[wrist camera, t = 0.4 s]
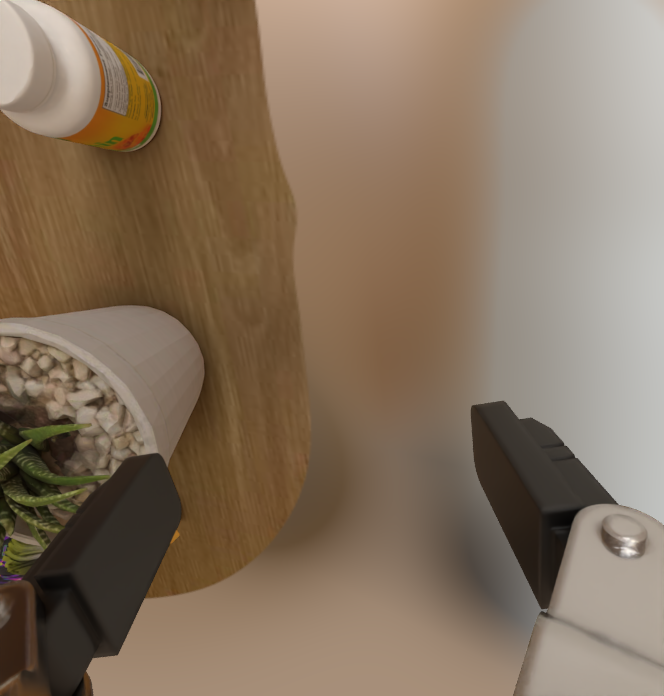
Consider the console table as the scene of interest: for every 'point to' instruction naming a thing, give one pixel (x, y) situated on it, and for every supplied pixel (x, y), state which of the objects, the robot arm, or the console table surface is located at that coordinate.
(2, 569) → the character figure
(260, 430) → the console table surface
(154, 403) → the potted plant
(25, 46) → the supplement bottle
